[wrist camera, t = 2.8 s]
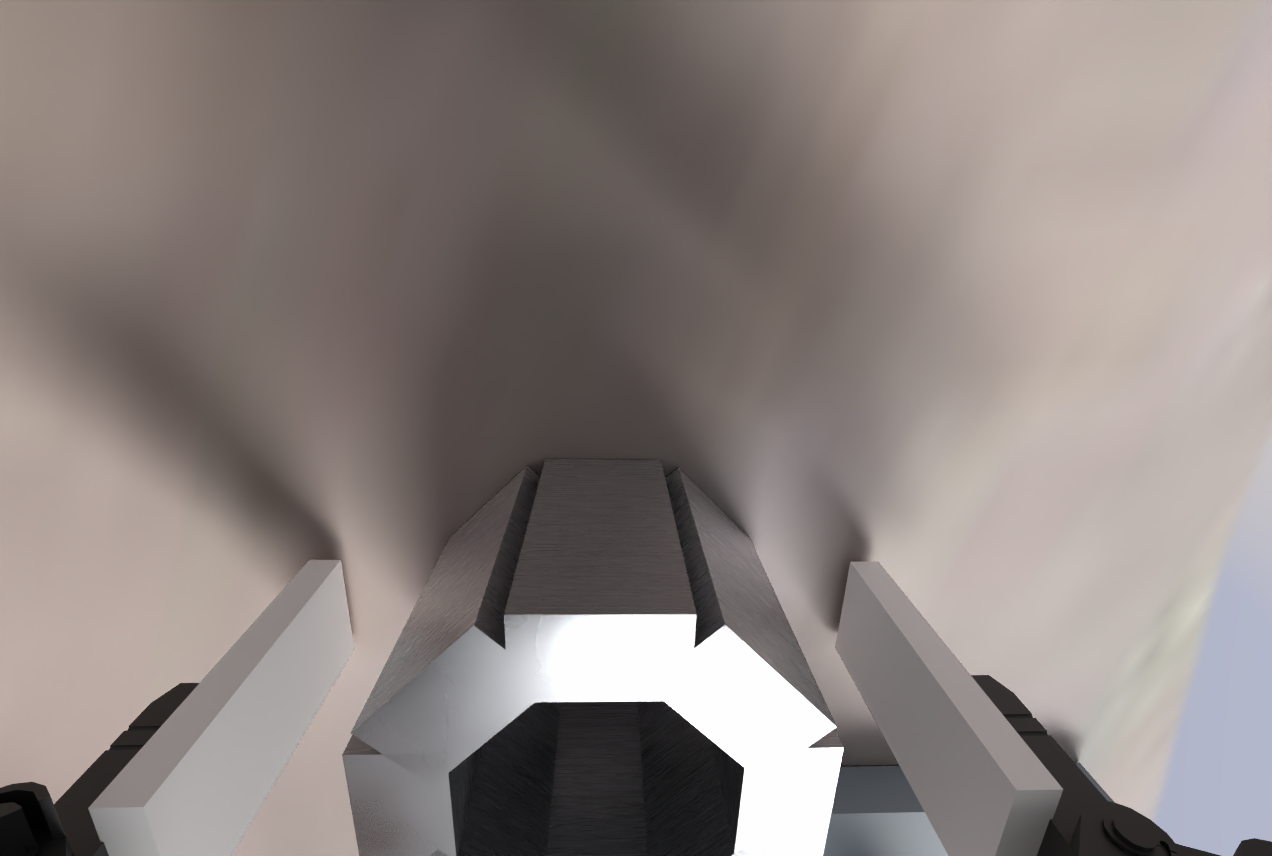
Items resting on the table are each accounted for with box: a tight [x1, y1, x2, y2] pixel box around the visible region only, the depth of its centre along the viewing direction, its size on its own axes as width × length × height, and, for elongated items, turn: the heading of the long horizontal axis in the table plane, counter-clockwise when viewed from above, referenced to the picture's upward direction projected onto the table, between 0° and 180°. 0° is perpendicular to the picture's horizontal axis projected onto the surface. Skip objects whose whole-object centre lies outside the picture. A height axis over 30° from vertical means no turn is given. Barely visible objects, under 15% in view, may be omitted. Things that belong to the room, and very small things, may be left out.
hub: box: [342, 459, 844, 856], centre depth 13 cm, size 8×8×6 cm
